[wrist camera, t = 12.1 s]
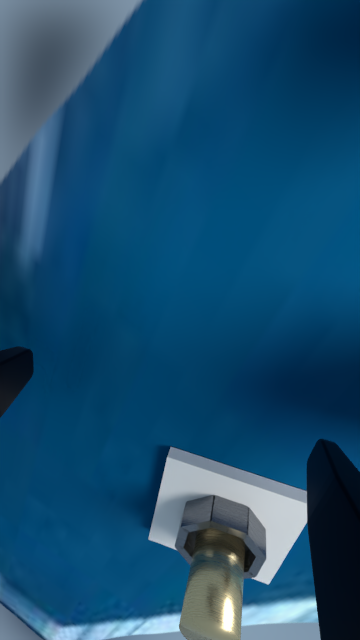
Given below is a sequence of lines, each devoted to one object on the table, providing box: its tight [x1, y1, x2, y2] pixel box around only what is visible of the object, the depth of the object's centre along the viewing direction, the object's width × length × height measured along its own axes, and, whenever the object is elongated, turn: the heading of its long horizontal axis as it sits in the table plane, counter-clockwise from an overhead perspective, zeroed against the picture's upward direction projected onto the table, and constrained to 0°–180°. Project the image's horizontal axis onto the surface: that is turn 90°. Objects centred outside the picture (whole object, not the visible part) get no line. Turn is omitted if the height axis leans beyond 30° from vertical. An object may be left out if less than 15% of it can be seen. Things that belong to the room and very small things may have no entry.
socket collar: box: [175, 495, 266, 579], centre depth 28 cm, size 8×8×2 cm
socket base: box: [148, 447, 307, 585], centre depth 30 cm, size 13×13×1 cm
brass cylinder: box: [179, 528, 245, 640], centre depth 25 cm, size 4×4×8 cm
